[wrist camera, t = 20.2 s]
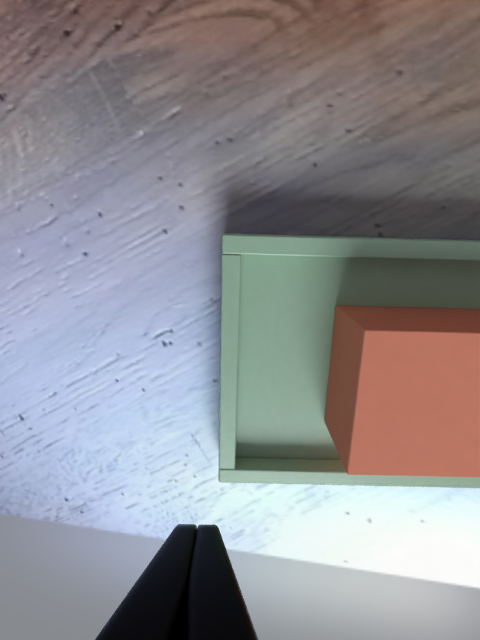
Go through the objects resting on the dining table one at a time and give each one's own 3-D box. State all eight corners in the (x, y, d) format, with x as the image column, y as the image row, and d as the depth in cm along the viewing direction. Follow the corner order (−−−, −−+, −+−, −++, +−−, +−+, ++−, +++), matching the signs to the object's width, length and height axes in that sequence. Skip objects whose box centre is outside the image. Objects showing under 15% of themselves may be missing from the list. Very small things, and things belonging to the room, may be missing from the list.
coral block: (529, 309, 16) (619, 335, 13) (501, 425, 18) (573, 480, 14) (335, 304, 16) (364, 329, 12) (323, 421, 18) (347, 475, 14)
